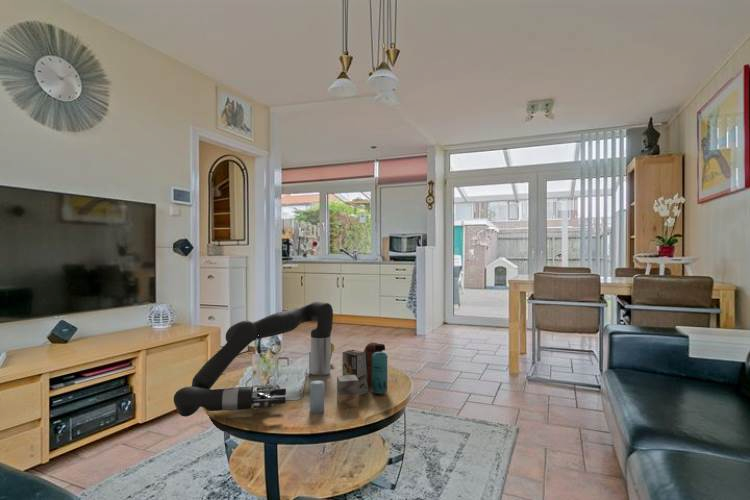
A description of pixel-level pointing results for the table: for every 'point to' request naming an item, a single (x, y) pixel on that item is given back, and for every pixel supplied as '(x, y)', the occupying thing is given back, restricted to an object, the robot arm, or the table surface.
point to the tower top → (347, 385)
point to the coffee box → (356, 367)
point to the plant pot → (331, 350)
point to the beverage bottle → (379, 370)
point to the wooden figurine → (370, 359)
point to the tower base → (347, 401)
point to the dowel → (317, 397)
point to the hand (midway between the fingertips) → (285, 395)
